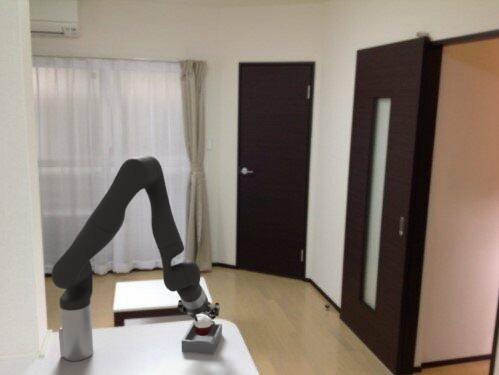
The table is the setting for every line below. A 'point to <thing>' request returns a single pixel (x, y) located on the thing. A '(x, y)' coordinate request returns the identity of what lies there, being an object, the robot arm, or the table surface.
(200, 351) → the dock tray
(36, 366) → the table surface
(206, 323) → the cocoa
